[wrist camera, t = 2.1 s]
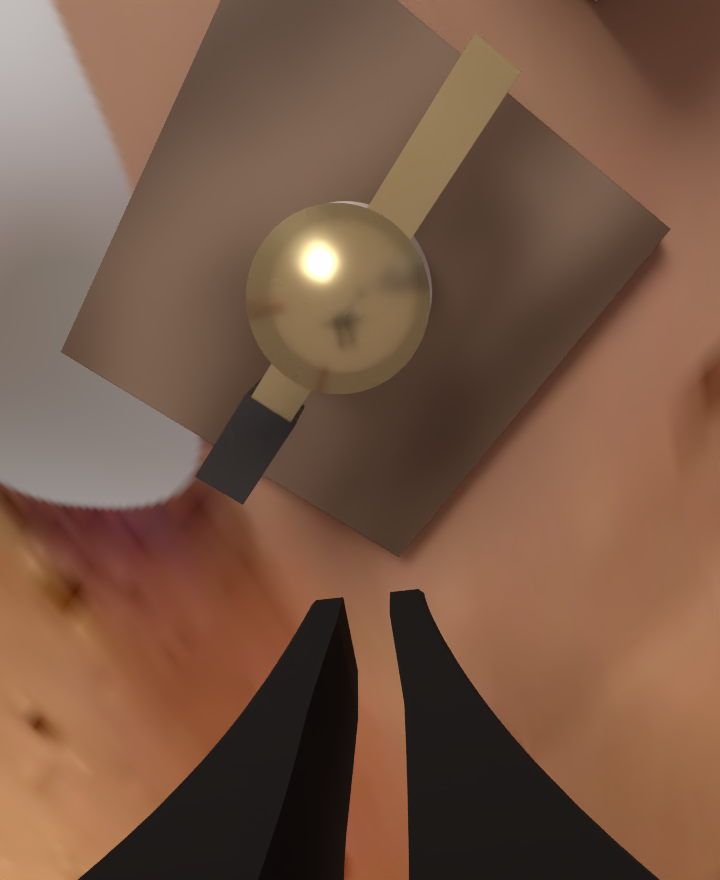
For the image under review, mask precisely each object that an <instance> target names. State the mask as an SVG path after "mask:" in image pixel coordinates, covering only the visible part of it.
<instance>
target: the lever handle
mask: <svg viewBox="0 0 720 880" xmlns="http://www.w3.org/2000/svg"><path fill="white" fill-rule="evenodd" d="M520 73H521V71H520V70H519V69H517V68H516V67H515V66H514V65H513V64H512V63H510V62H509V61H508V60H507V59H506V58H505V57H503V56H502V55H501V54H500V53H499V52H497V51H496V50H495V49H494V48H493V47H492V46H490V45H489V44H488V43H487V42H486V41H485V40H483V39H482V38H481V37H480V36H479V35H477V34H476V33H474V35H473V37H472V38H471V40H470V41H469V43H468V45H467V46H466V48H465V50H464V51H463V53H462V54H461V56H460V58H459V59H458V61H457V63H456V64H455V66H454V67H453V69H452V71H451V72H450V74H449V76H448V77H447V79H446V80H445V82H444V84H443V85H442V87H441V89H440V90H439V92H438V94H437V95H436V97H435V98H434V100H433V102H432V103H431V105H430V107H429V108H428V110H427V111H426V113H425V115H424V116H423V118H422V120H421V121H420V123H419V124H418V126H417V128H416V129H415V131H414V133H413V134H412V136H411V137H410V139H409V141H408V142H407V144H406V146H405V147H404V149H403V150H402V152H401V154H400V155H399V157H398V159H397V160H396V162H395V163H394V165H393V167H392V168H391V170H390V172H389V173H388V175H387V176H386V178H385V180H384V181H383V183H382V185H381V186H380V188H379V189H378V191H377V193H376V194H375V196H374V198H373V199H372V201H371V202H370V204H369V206H368V207H367V208H365V207H361V206H358V205H354V204H347V203H326V204H319V205H315V206H312V207H308V208H305V209H303V210H301V211H298V212H296V213H294V214H292V215H291V216H289V217H288V218H286V219H285V220H283V221H282V222H281V223H280V224H279V225H277V226H276V227H275V228H274V229H273V230H272V231H271V232H270V233H269V235H268V236H267V237H266V238H265V239H264V241H263V242H262V244H261V246H260V247H259V249H258V250H257V252H256V255H255V257H254V259H253V261H252V264H251V267H250V270H249V274H248V279H247V285H246V308H247V315H248V320H249V324H250V327H251V330H252V333H253V335H254V337H255V339H256V342H257V344H258V346H259V347H260V349H261V350H262V352H263V354H264V355H265V356H266V358H267V359H268V360H269V361H270V362H271V365H270V367H269V368H268V370H267V372H266V373H265V375H264V376H263V378H261V379H260V380H259V381H258V382H257V383H256V384H255V385H254V386H253V387H252V388H251V389H250V390H249V391H248V392H247V393H246V394H245V396H244V397H243V399H242V401H241V402H240V404H239V406H238V407H237V409H236V410H235V412H234V414H233V415H232V417H231V419H230V420H229V422H228V424H227V425H226V427H225V428H224V430H223V432H222V433H221V435H220V437H219V438H218V440H217V442H216V443H215V445H214V447H213V448H212V450H211V451H210V453H209V455H208V456H207V458H206V460H205V461H204V463H203V465H202V466H201V468H200V470H199V471H198V473H197V474H196V476H195V477H197V478H198V479H200V480H202V481H204V482H205V483H207V484H209V485H210V486H212V487H214V488H215V489H217V490H219V491H220V492H222V493H224V494H226V495H227V496H229V497H231V498H232V499H234V500H236V501H237V502H239V503H241V504H242V505H243V504H244V502H245V501H246V499H247V498H248V496H249V495H250V493H251V492H252V490H253V489H254V487H255V486H256V484H257V483H258V481H259V480H260V478H261V477H262V475H263V474H264V472H265V471H266V469H267V468H268V466H269V465H270V463H271V461H272V460H273V458H274V457H275V455H276V454H277V452H278V451H279V449H280V448H281V446H282V445H283V443H284V442H285V440H286V439H287V437H288V436H289V434H290V433H291V431H292V430H293V428H294V427H295V425H296V423H297V421H298V419H299V417H300V415H301V413H302V411H303V409H304V407H305V406H304V405H303V402H304V401H305V399H306V398H307V396H308V395H309V393H310V392H311V390H314V391H318V392H322V393H329V394H351V393H357V392H361V391H365V390H368V389H371V388H373V387H376V386H378V385H380V384H382V383H384V382H385V381H387V380H389V379H390V378H391V377H393V376H394V375H395V374H397V373H398V372H399V371H400V370H401V369H402V368H403V367H404V366H405V365H406V364H407V363H408V361H409V360H410V359H411V358H412V356H413V355H414V353H415V352H416V350H417V348H418V347H419V345H420V343H421V340H422V338H423V336H424V333H425V330H426V327H427V324H428V318H429V313H430V288H429V282H428V277H427V273H426V270H425V267H424V264H423V261H422V259H421V257H420V255H419V253H418V251H417V250H416V248H415V247H414V245H413V244H412V242H411V241H410V240H411V238H412V237H413V235H414V234H415V232H416V231H417V229H418V228H419V226H420V225H421V223H422V222H423V220H424V218H425V217H426V215H427V214H428V212H429V211H430V209H431V208H432V206H433V205H434V203H435V202H436V200H437V199H438V197H439V196H440V194H441V193H442V191H443V190H444V188H445V187H446V185H447V184H448V182H449V180H450V179H451V177H452V176H453V174H454V173H455V171H456V170H457V168H458V167H459V165H460V164H461V162H462V161H463V159H464V158H465V156H466V155H467V153H468V152H469V150H470V149H471V147H472V145H473V144H474V142H475V141H476V139H477V138H478V136H479V135H480V133H481V132H482V130H483V129H484V127H485V126H486V124H487V123H488V121H489V120H490V118H491V117H492V115H493V114H494V112H495V111H496V109H497V107H498V106H499V104H500V103H501V101H502V100H503V98H504V97H505V95H506V94H507V92H508V91H509V89H510V88H511V86H512V85H513V83H514V82H515V80H516V79H517V77H518V76H519V74H520Z"/></svg>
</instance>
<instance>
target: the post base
mask: <svg viewBox="0 0 720 880" xmlns="http://www.w3.org/2000/svg"><path fill="white" fill-rule="evenodd" d="M460 56H461V54H460V53H459V52H458V51H457V50H456V49H454V48H453V47H452V46H451V45H450V44H448V43H447V42H446V41H445V40H444V39H442V38H441V37H440V36H439V35H438V34H436V33H435V32H434V31H433V30H432V29H430V28H429V27H428V26H427V25H426V24H425V23H423V22H422V21H421V20H420V19H419V18H417V17H416V16H415V15H414V14H413V13H411V12H410V11H409V10H408V9H407V8H405V7H404V6H403V5H402V4H401V3H399V2H398V1H397V0H221V1H220V4H219V6H218V8H217V10H216V12H215V14H214V17H213V19H212V21H211V23H210V25H209V28H208V30H207V32H206V34H205V36H204V39H203V41H202V43H201V45H200V47H199V50H198V52H197V54H196V56H195V58H194V61H193V63H192V65H191V67H190V69H189V72H188V74H187V76H186V78H185V80H184V83H183V85H182V87H181V89H180V91H179V94H178V96H177V98H176V100H175V102H174V105H173V107H172V109H171V111H170V113H169V116H168V118H167V120H166V122H165V124H164V127H163V129H162V131H161V133H160V135H159V138H158V140H157V142H156V144H155V146H154V149H153V151H152V153H151V155H150V157H149V160H148V162H147V164H146V166H145V168H144V171H143V173H142V175H141V177H140V179H139V182H138V184H137V186H136V188H135V190H134V193H133V195H132V197H131V199H130V201H129V204H128V206H127V208H126V210H125V212H124V215H123V217H122V219H121V221H120V223H119V225H118V228H117V230H116V232H115V234H114V236H113V239H112V241H111V243H110V245H109V247H108V250H107V252H106V254H105V256H104V258H103V261H102V263H101V265H100V267H99V269H98V272H97V274H96V276H95V278H94V280H93V283H92V285H91V287H90V289H89V291H88V294H87V296H86V298H85V301H84V302H83V305H82V307H81V309H80V311H79V313H78V316H77V318H76V320H75V322H74V324H73V327H72V329H71V331H70V333H69V335H68V338H67V340H66V342H65V344H64V346H63V349H62V351H61V352H62V353H64V354H65V355H67V356H69V357H70V358H72V359H73V360H75V361H77V362H79V363H80V364H82V365H83V366H85V367H86V368H88V369H90V370H91V371H93V372H95V373H97V374H98V375H100V376H101V377H103V378H105V379H106V380H108V381H110V382H111V383H113V384H114V385H116V386H118V387H119V388H121V389H123V390H125V391H126V392H128V393H129V394H131V395H133V396H134V397H136V398H138V399H139V400H141V401H142V402H144V403H146V404H148V405H149V406H151V407H152V408H154V409H156V410H157V411H159V412H161V413H162V414H164V415H166V416H167V417H169V418H170V419H172V420H174V421H175V422H177V423H179V424H180V425H182V426H184V427H185V428H187V429H189V430H191V431H192V432H194V433H195V434H197V435H198V436H200V437H202V438H203V439H205V440H207V441H208V442H210V443H212V444H213V445H215V443H216V442H217V440H218V438H219V437H220V435H221V433H222V432H223V430H224V428H225V427H226V425H227V424H228V422H229V420H230V419H231V417H232V415H233V414H234V412H235V410H236V409H237V407H238V406H239V404H240V402H241V401H242V399H243V397H244V396H245V394H246V393H247V392H248V391H249V390H250V389H251V388H252V387H253V386H254V385H255V384H256V383H257V382H258V381H259V380H260V379H261V378H263V376H264V375H265V373H266V372H267V370H268V368H269V367H270V365H271V362H270V361H269V360H268V359H267V358H266V356H265V355H264V354H263V352H262V350H261V349H260V347H259V346H258V344H257V342H256V339H255V337H254V335H253V333H252V330H251V327H250V324H249V320H248V315H247V308H246V285H247V279H248V274H249V270H250V267H251V264H252V261H253V259H254V257H255V255H256V252H257V250H258V249H259V247H260V246H261V244H262V242H263V241H264V239H265V238H266V237H267V236H268V235H269V233H270V232H271V231H272V230H273V229H274V228H275V227H276V226H277V225H279V224H280V223H281V222H282V221H283V220H285V219H286V218H288V217H289V216H291V215H292V214H294V213H296V212H298V211H301V210H303V209H305V208H308V207H312V206H315V205H319V204H326V203H347V204H354V205H358V206H361V207H365V208H367V207H368V206H369V204H370V202H371V201H372V199H373V198H374V196H375V194H376V193H377V191H378V189H379V188H380V186H381V185H382V183H383V181H384V180H385V178H386V176H387V175H388V173H389V172H390V170H391V168H392V167H393V165H394V163H395V162H396V160H397V159H398V157H399V155H400V154H401V152H402V150H403V149H404V147H405V146H406V144H407V142H408V141H409V139H410V137H411V136H412V134H413V133H414V131H415V129H416V128H417V126H418V124H419V123H420V121H421V120H422V118H423V116H424V115H425V113H426V111H427V110H428V108H429V107H430V105H431V103H432V102H433V100H434V98H435V97H436V95H437V94H438V92H439V90H440V89H441V87H442V85H443V84H444V82H445V80H446V79H447V77H448V76H449V74H450V72H451V71H452V69H453V67H454V66H455V64H456V63H457V61H458V59H459V58H460ZM669 230H670V228H669V227H668V226H666V225H665V224H664V223H663V222H662V221H660V220H659V219H658V218H657V217H656V216H654V215H653V214H652V213H651V212H650V211H648V210H647V209H646V208H645V207H644V206H642V205H641V204H640V203H639V202H638V201H636V200H635V199H634V198H633V197H632V196H630V195H629V194H628V193H627V192H626V191H624V190H623V189H622V188H621V187H620V186H618V185H617V184H616V183H615V182H614V181H612V180H611V179H610V178H609V177H608V176H606V175H605V174H604V173H603V172H602V171H601V170H599V169H598V168H597V167H596V166H595V165H593V164H592V163H591V162H590V161H589V160H587V159H586V158H585V157H584V156H583V155H581V154H580V153H579V152H578V151H577V150H575V149H574V148H573V147H572V146H571V145H569V144H568V143H567V142H566V141H565V140H563V139H562V138H561V137H560V136H559V135H557V134H556V133H555V132H554V131H553V130H551V129H550V128H549V127H548V126H547V125H545V124H544V123H543V122H542V121H541V120H539V119H538V118H537V117H536V116H535V115H533V114H532V113H531V112H530V111H529V110H527V109H526V108H525V107H524V106H523V105H521V104H520V103H519V102H518V101H517V100H516V99H514V98H513V97H512V96H511V95H510V94H508V93H507V94H506V95H505V97H504V98H503V100H502V101H501V103H500V104H499V106H498V107H497V109H496V111H495V112H494V114H493V115H492V117H491V118H490V120H489V121H488V123H487V124H486V126H485V127H484V129H483V130H482V132H481V133H480V135H479V136H478V138H477V139H476V141H475V142H474V144H473V145H472V147H471V149H470V150H469V152H468V153H467V155H466V156H465V158H464V159H463V161H462V162H461V164H460V165H459V167H458V168H457V170H456V171H455V173H454V174H453V176H452V177H451V179H450V180H449V182H448V184H447V185H446V187H445V188H444V190H443V191H442V193H441V194H440V196H439V197H438V199H437V200H436V202H435V203H434V205H433V206H432V208H431V209H430V211H429V212H428V214H427V215H426V217H425V218H424V220H423V222H422V223H421V225H420V226H419V228H418V229H417V231H416V232H415V234H414V235H413V237H412V238H411V240H410V241H411V242H412V244H413V245H414V247H415V248H416V250H417V251H418V253H419V255H420V257H421V259H422V261H423V264H424V267H425V270H426V273H427V277H428V282H429V288H430V313H429V318H428V324H427V327H426V330H425V333H424V336H423V338H422V340H421V343H420V345H419V347H418V348H417V350H416V352H415V353H414V355H413V356H412V358H411V359H410V360H409V361H408V363H407V364H406V365H405V366H404V367H403V368H402V369H401V370H400V371H399V372H398V373H397V374H395V375H394V376H393V377H391V378H390V379H389V380H387V381H385V382H384V383H382V384H380V385H378V386H376V387H373V388H371V389H368V390H365V391H361V392H357V393H351V394H329V393H322V392H318V391H314V390H311V392H310V393H309V395H308V396H307V398H306V399H305V401H304V402H303V405H304V406H305V407H304V409H303V411H302V413H301V415H300V417H299V419H298V421H297V423H296V425H295V427H294V428H293V430H292V431H291V433H290V434H289V436H288V437H287V439H286V440H285V442H284V443H283V445H282V446H281V448H280V449H279V451H278V452H277V454H276V455H275V457H274V458H273V460H272V461H271V463H270V465H269V466H268V468H267V469H266V471H265V472H264V474H263V475H264V476H266V477H268V478H269V479H271V480H273V481H274V482H276V483H278V484H279V485H281V486H282V487H284V488H286V489H287V490H289V491H291V492H292V493H294V494H296V495H297V496H299V497H301V498H302V499H304V500H306V501H307V502H309V503H310V504H312V505H314V506H315V507H317V508H319V509H320V510H322V511H324V512H325V513H327V514H329V515H330V516H332V517H334V518H335V519H337V520H338V521H340V522H342V523H343V524H345V525H347V526H348V527H350V528H352V529H353V530H355V531H357V532H358V533H360V534H362V535H363V536H365V537H366V538H368V539H370V540H371V541H373V542H375V543H376V544H378V545H380V546H381V547H383V548H385V549H386V550H388V551H390V552H391V553H393V554H394V555H396V556H398V557H399V556H400V555H401V554H402V553H403V551H404V550H405V549H406V548H407V547H408V545H409V544H410V543H411V542H412V541H413V539H414V538H415V537H416V536H417V535H418V533H419V532H420V531H421V530H422V529H423V527H424V526H425V525H426V524H427V523H428V521H429V520H430V519H431V518H432V516H433V515H434V514H435V513H436V512H437V510H438V509H439V508H440V507H441V506H442V504H443V503H444V502H445V501H446V500H447V498H448V497H449V496H450V495H451V494H452V492H453V491H454V490H455V489H456V487H457V486H458V485H459V484H460V483H461V481H462V480H463V479H464V478H465V477H466V475H467V474H468V473H469V472H470V471H471V469H472V468H473V467H474V466H475V465H476V463H477V462H478V461H479V460H480V459H481V457H482V456H483V455H484V454H485V452H486V451H487V450H488V449H489V448H490V446H491V445H492V444H493V443H494V442H495V440H496V439H497V438H498V437H499V436H500V434H501V433H502V432H503V431H504V430H505V428H506V427H507V426H508V425H509V423H510V422H511V421H512V420H513V419H514V417H515V416H516V415H517V414H518V413H519V411H520V410H521V409H522V408H523V407H524V405H525V404H526V403H527V402H528V401H529V399H530V398H531V397H532V396H533V395H534V393H535V392H536V391H537V390H538V388H539V387H540V386H541V385H542V384H543V382H544V381H545V380H546V379H547V378H548V376H549V375H550V374H551V373H552V372H553V370H554V369H555V368H556V367H557V366H558V364H559V363H560V362H561V361H562V359H563V358H564V357H565V356H566V355H567V353H568V352H569V351H570V350H571V349H572V347H573V346H574V345H575V344H576V343H577V341H578V340H579V339H580V338H581V337H582V335H583V334H584V333H585V332H586V331H587V329H588V328H589V327H590V326H591V324H592V323H593V322H594V321H595V320H596V318H597V317H598V316H599V315H600V314H601V312H602V311H603V310H604V309H605V308H606V306H607V305H608V304H609V303H610V302H611V300H612V299H613V298H614V297H615V295H616V294H617V293H618V292H619V291H620V289H621V288H622V287H623V286H624V285H625V283H626V282H627V281H628V280H629V279H630V277H631V276H632V275H633V274H634V273H635V271H636V270H637V269H638V268H639V266H640V265H641V264H642V263H643V262H644V260H645V259H646V258H647V257H648V256H649V254H650V253H651V252H652V251H653V250H654V248H655V247H656V246H657V245H658V244H659V242H660V241H661V240H662V239H663V238H664V236H665V235H666V234H667V233H668V231H669Z"/></svg>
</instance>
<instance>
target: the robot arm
mask: <svg viewBox="0 0 720 880" xmlns="http://www.w3.org/2000/svg"><path fill="white" fill-rule="evenodd" d="M390 618H391V624H392V630H393V637H394V643H395V649H396V655H397V661H398V667H399V673H400V679H401V685H402V692H403V698H404V705H405V729H406V755H407V788H408V835H409V880H659V879H658V878H657V877H656V876H655V875H653V874H652V873H651V872H650V871H649V870H648V869H646V868H645V867H644V866H643V865H642V864H641V863H640V862H638V861H637V860H636V859H635V858H634V857H633V856H632V855H630V854H629V853H628V852H627V851H626V850H625V849H624V848H623V847H621V846H620V845H619V844H618V843H617V842H616V841H615V840H614V839H613V838H611V837H610V836H609V835H608V834H607V833H606V832H605V831H604V830H603V829H602V828H601V827H600V826H599V825H598V824H597V823H595V822H594V821H593V820H592V819H591V818H590V817H589V816H588V815H587V814H586V813H585V812H584V811H583V810H582V809H581V808H580V807H579V806H578V805H577V804H576V803H575V802H574V801H573V800H572V799H571V798H570V797H569V796H568V795H567V794H566V793H565V792H564V791H563V790H562V789H561V788H560V787H559V786H558V785H557V784H556V783H555V782H554V781H553V780H552V779H551V778H550V777H549V776H548V775H547V774H546V773H545V771H544V770H543V769H542V768H541V767H540V766H539V765H538V764H537V763H536V762H535V761H534V760H533V759H532V758H531V757H530V756H529V754H528V753H527V752H526V751H525V750H524V749H523V748H522V746H521V745H520V744H519V743H518V742H517V741H516V740H515V738H514V737H513V736H512V735H511V734H510V732H509V731H508V730H507V729H506V728H505V726H504V725H503V724H502V723H501V721H500V720H499V719H498V718H497V717H496V715H495V714H494V713H493V711H492V710H491V709H490V708H489V706H488V705H487V704H486V702H485V701H484V700H483V698H482V697H481V696H480V694H479V693H478V691H477V690H476V689H475V687H474V686H473V684H472V683H471V681H470V680H469V679H468V677H467V676H466V674H465V673H464V671H463V670H462V668H461V667H460V665H459V664H458V662H457V660H456V659H455V657H454V655H453V654H452V652H451V650H450V649H449V647H448V645H447V644H446V642H445V640H444V639H443V637H442V635H441V633H440V631H439V629H438V627H437V625H436V623H435V621H434V619H433V617H432V615H431V613H430V610H429V608H428V605H427V602H426V599H425V595H424V593H423V592H422V591H420V590H419V589H415V590H406V591H397V592H390ZM357 723H358V669H357V664H356V659H355V654H354V649H353V644H352V639H351V634H350V629H349V624H348V619H347V614H346V609H345V604H344V599H343V597H342V598H332V599H323V600H316V601H315V602H314V603H313V604H312V606H311V608H310V609H309V611H308V613H307V615H306V616H305V618H304V620H303V622H302V623H301V625H300V627H299V628H298V630H297V632H296V634H295V635H294V637H293V638H292V640H291V642H290V643H289V645H288V647H287V648H286V650H285V651H284V653H283V654H282V656H281V658H280V659H279V661H278V662H277V664H276V665H275V667H274V668H273V670H272V671H271V673H270V674H269V676H268V677H267V679H266V680H265V682H264V683H263V685H262V686H261V687H260V689H259V690H258V691H257V693H256V694H255V696H254V697H253V698H252V700H251V701H250V702H249V704H248V705H247V707H246V708H245V709H244V711H243V712H242V713H241V715H240V716H239V717H238V718H237V720H236V721H235V722H234V724H233V725H232V726H231V727H230V729H229V730H228V731H227V732H226V734H225V735H224V736H223V737H222V738H221V740H220V741H219V742H218V743H217V744H216V745H215V747H214V748H213V749H212V750H211V751H210V752H209V754H208V755H207V756H206V757H205V758H204V759H203V761H202V762H201V763H200V764H199V765H198V766H197V767H196V768H195V769H194V770H193V771H192V772H191V773H190V775H189V776H188V777H187V778H186V779H185V780H184V781H183V782H182V783H181V784H180V785H179V786H178V787H177V788H176V789H175V790H174V791H173V792H172V793H171V794H170V795H169V796H168V798H167V799H166V800H165V801H164V802H163V803H162V804H161V805H160V806H159V807H158V808H157V809H156V810H155V811H154V812H153V813H152V814H151V815H150V816H148V817H147V818H146V819H145V820H144V821H143V822H142V823H141V824H140V825H139V826H138V827H137V828H136V829H135V830H134V831H132V832H131V833H130V834H129V835H128V836H127V837H126V838H125V839H124V840H123V841H122V842H120V843H119V844H118V845H117V846H116V847H115V848H114V849H113V850H111V851H110V852H109V853H108V854H107V855H106V856H105V857H104V858H102V859H101V860H100V861H99V862H98V863H97V864H96V865H94V866H93V867H92V868H91V869H90V870H89V871H87V872H86V873H85V874H84V875H83V876H82V877H80V878H79V879H78V880H344V860H345V845H346V832H347V822H348V812H349V803H350V793H351V783H352V774H353V764H354V754H355V744H356V734H357Z"/></svg>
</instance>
